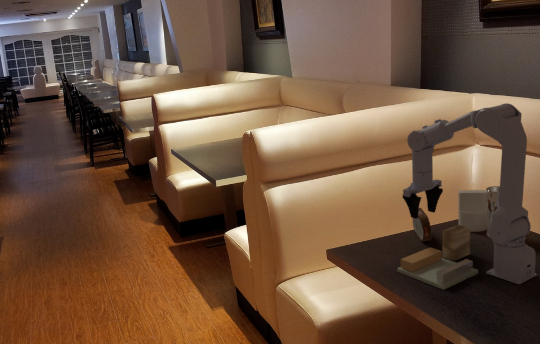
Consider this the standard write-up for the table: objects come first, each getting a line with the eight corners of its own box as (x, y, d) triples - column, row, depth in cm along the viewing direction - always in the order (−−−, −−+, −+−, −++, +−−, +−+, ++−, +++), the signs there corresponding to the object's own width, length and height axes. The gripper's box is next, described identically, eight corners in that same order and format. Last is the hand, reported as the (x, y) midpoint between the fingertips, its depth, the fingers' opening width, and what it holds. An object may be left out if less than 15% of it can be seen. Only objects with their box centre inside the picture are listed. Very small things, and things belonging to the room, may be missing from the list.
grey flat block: (478, 273, 146) (478, 261, 145) (443, 289, 138) (443, 276, 137) (431, 257, 158) (431, 245, 157) (397, 271, 151) (396, 259, 150)
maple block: (469, 254, 158) (470, 227, 157) (454, 261, 155) (454, 234, 153) (458, 250, 162) (458, 224, 160) (442, 257, 158) (442, 230, 156)
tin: (432, 245, 167) (432, 218, 165) (422, 245, 167) (421, 219, 165) (420, 228, 182) (420, 204, 180) (410, 229, 182) (410, 204, 180)
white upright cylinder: (459, 231, 176) (459, 195, 174) (457, 222, 185) (457, 187, 182) (489, 231, 174) (490, 195, 171) (485, 222, 183) (486, 187, 180)
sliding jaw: (441, 259, 154) (441, 251, 153) (412, 271, 147) (412, 263, 147) (430, 255, 157) (430, 247, 156) (400, 267, 151) (400, 259, 150)
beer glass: (480, 234, 173) (480, 188, 169) (498, 230, 174) (499, 184, 171) (495, 241, 166) (496, 193, 163) (514, 237, 168) (515, 189, 164)
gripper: (428, 163, 168) (428, 206, 171) (394, 173, 160) (396, 217, 164) (447, 167, 162) (447, 211, 166) (413, 176, 155) (414, 222, 158)
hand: (423, 214), depth 164 cm, fingers open, 7 cm apart
